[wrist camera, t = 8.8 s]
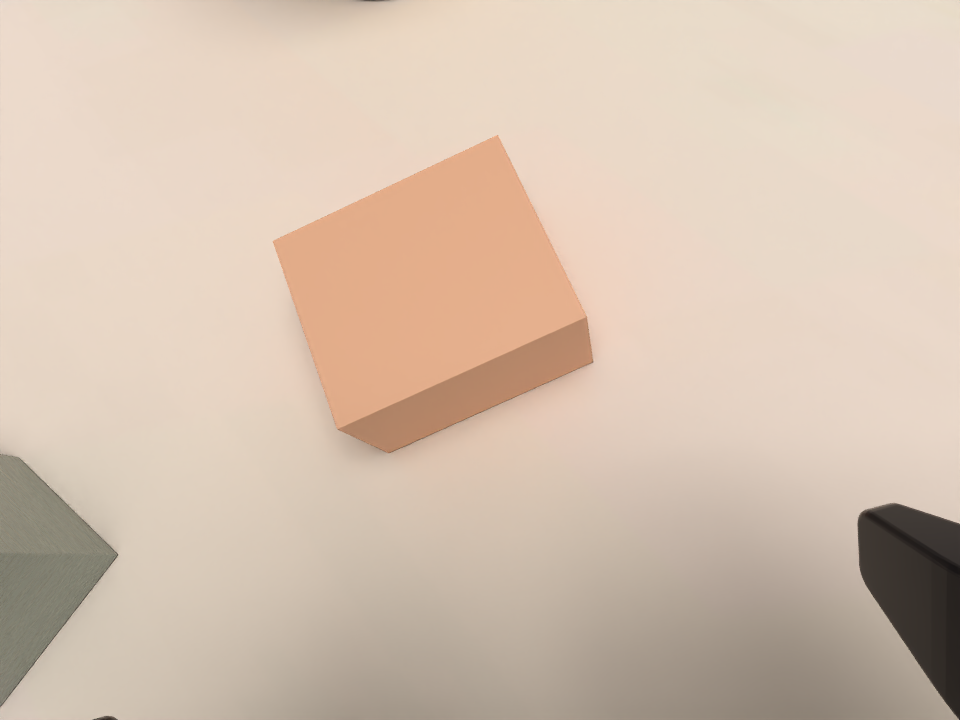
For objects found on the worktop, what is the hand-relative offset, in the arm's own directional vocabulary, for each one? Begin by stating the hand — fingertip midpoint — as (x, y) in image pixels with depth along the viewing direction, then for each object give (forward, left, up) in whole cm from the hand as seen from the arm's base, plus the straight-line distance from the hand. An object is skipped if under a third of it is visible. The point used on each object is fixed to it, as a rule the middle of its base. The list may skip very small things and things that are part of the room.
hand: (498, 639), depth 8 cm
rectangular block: (+8, -1, -11) cm, 14 cm away
